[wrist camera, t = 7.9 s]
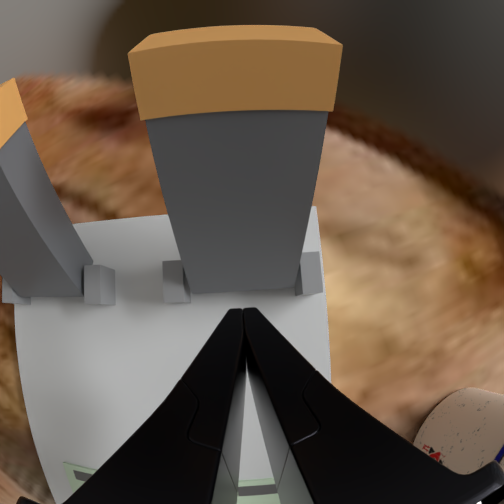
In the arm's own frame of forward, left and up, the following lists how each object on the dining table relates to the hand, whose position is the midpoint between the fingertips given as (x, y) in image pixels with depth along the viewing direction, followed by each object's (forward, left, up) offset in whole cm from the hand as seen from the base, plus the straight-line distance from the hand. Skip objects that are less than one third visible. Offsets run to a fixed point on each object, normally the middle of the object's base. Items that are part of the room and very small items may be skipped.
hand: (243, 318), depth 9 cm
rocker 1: (+2, +11, -7) cm, 13 cm away
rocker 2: (+2, 0, -7) cm, 7 cm away
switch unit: (-5, +5, -8) cm, 11 cm away
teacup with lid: (-13, -16, -9) cm, 23 cm away
